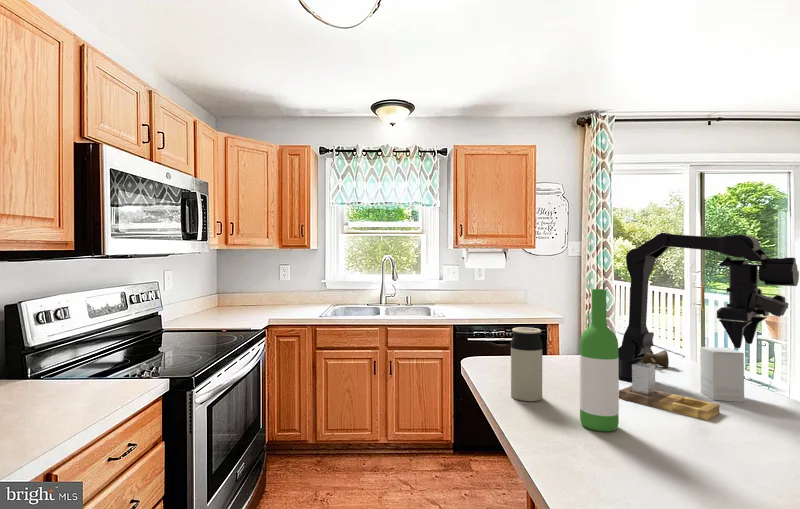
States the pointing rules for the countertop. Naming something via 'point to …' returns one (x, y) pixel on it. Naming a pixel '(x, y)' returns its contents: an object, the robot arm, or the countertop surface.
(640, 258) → the robot arm
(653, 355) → the kendama
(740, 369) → the supplement box
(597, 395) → the wine bottle
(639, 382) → the peg
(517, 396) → the travel mug
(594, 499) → the countertop surface
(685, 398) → the wooden slotted board
